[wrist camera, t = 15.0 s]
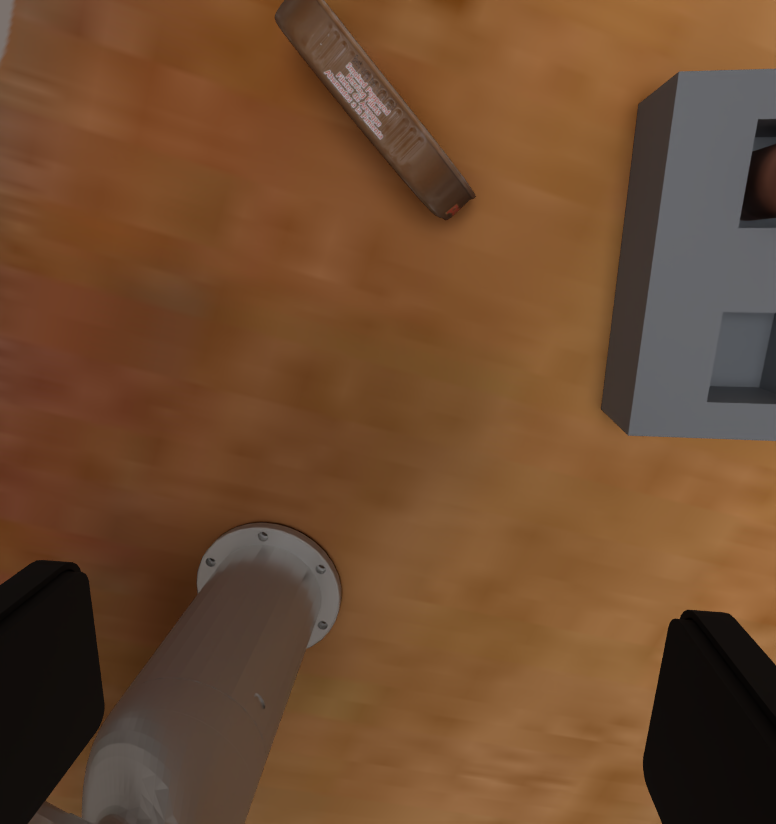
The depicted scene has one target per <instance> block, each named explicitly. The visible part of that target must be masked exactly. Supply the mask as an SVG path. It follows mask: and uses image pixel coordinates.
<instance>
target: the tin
mask: <svg viewBox="0 0 776 824" xmlns="http://www.w3.org/2000/svg"><path fill="white" fill-rule="evenodd" d="M275 20H276V23H277V24H278V26H279V28H280V29H281V30H282V32H283V33H284V35H285V36H286V37H287V38H288V40H289V41H290V42H291V44H292V45H293V46H294V47H295V49H296V50H297V51H298V52H299V54H300V55H301V56H302V58H303V59H304V60H305V61H306V63H307V64H308V65H309V66H310V68H311V69H312V70H313V71H314V73H315V74H316V75H317V76H318V78H319V79H320V80H321V81H322V83H323V84H324V85H325V86H326V87H327V89H328V90H329V91H330V93H331V94H332V95H333V96H334V97H335V99H336V100H337V101H338V102H339V104H340V105H341V106H342V107H343V109H344V110H345V111H346V112H347V114H348V115H349V116H350V117H351V119H352V120H353V121H354V122H355V123H356V125H357V126H358V127H359V128H360V129H361V131H362V132H363V133H364V134H365V135H366V137H367V138H368V139H369V140H370V141H371V143H372V144H373V145H374V146H375V147H376V149H377V150H378V151H379V152H380V153H381V154H382V156H383V157H384V158H385V159H386V160H387V162H388V163H389V164H390V165H391V166H392V168H393V169H394V170H395V171H396V172H397V174H398V175H399V176H400V177H401V178H402V180H403V181H404V182H405V183H406V184H407V185H408V186H409V188H410V189H411V190H412V191H413V192H414V193H415V195H416V196H417V197H418V198H419V199H420V200H421V201H422V202H423V204H424V205H425V206H426V207H427V208H428V209H429V210H430V211H431V212H432V213H433V214H435V215H436V216H438V217H441V218H443V219H445V220H448V219H449V218H451V217H452V216H453V215H454V214H455V213H456V212H457V211H458V210H459V209H461V208H462V207H463V206H464V205H465V204H466V203H467V202H468V201H469V200H471V199H474V198H475V197H476V196H475V194H474V192H473V191H472V189H471V187H470V186H469V184H468V183H467V182H466V180H465V178H464V177H463V176H462V175H461V173H460V172H459V171H458V169H457V168H456V167H455V166H454V164H453V163H452V162H451V160H450V159H449V158H448V156H447V155H446V154H445V152H444V151H443V150H442V149H441V147H440V146H439V144H438V143H437V142H436V141H435V139H434V138H433V137H432V136H431V134H430V133H429V132H428V131H427V129H426V128H425V127H424V125H423V124H422V123H421V122H420V121H419V119H418V118H417V117H416V115H415V114H414V113H413V112H412V110H411V109H410V108H409V107H408V106H407V104H406V103H405V102H404V100H403V99H402V98H401V96H400V95H399V94H398V93H397V91H396V90H395V89H394V88H393V87H392V85H391V84H390V83H389V82H388V80H387V79H386V78H385V77H384V75H383V74H382V73H381V71H380V70H379V69H378V68H377V66H376V65H375V64H374V63H373V61H372V60H371V59H370V58H369V56H368V55H367V54H366V53H365V51H364V50H363V49H362V47H361V46H360V45H359V44H358V43H357V41H356V40H355V39H354V38H353V36H352V35H351V34H350V32H349V31H348V30H347V29H346V27H345V26H344V25H343V24H342V22H341V21H340V20H339V18H338V17H337V16H336V15H335V13H334V12H333V11H332V10H331V8H330V7H329V6H328V5H327V3H326V2H325V1H324V0H284V2H283V3H282V4H281V6H280V7H279V9H278V10H277V12H276V14H275Z"/></svg>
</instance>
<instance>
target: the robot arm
mask: <svg viewBox="0 0 776 824" xmlns="http://www.w3.org/2000/svg"><path fill="white" fill-rule="evenodd" d="M197 591H198V594H197V596H196V597H195V599H194V600H193V601H192V603H191V604H190V605H189V607H188V608H187V609H186V611H185V612H184V613H183V615H182V616H181V617H180V619H179V620H178V622H177V623H176V624H175V626H174V627H173V628H172V630H171V631H170V632H169V634H168V635H167V636H166V638H165V639H164V640H163V642H162V643H161V645H160V646H159V647H158V649H157V650H156V651H155V653H154V654H153V655H152V657H151V658H150V659H149V661H148V662H147V663H146V665H145V666H144V668H143V669H142V670H141V672H140V673H139V674H138V676H137V677H136V678H135V680H134V681H133V682H132V684H131V685H130V686H129V688H128V689H127V691H126V692H125V693H124V695H123V696H122V697H121V699H120V700H119V701H118V703H117V704H116V706H115V707H114V708H113V710H112V711H111V712H110V714H109V715H108V717H107V718H106V720H105V721H104V723H103V724H102V726H101V728H100V730H99V732H98V734H97V736H96V739H95V741H94V743H93V746H92V749H91V752H90V755H89V758H88V762H87V766H86V772H85V778H84V785H83V797H82V818H80V817H78V816H76V815H74V814H72V813H70V814H68V813H67V812H65V811H63V810H61V809H59V808H57V807H56V806H54V805H52V804H50V803H48V802H46V801H45V800H46V799H47V797H48V796H49V795H50V793H51V792H52V791H53V789H54V788H55V787H56V785H57V784H58V783H59V781H60V780H61V779H62V777H63V776H64V775H65V773H66V772H67V771H68V769H69V768H70V766H71V765H72V764H73V762H74V761H75V760H76V758H77V757H78V756H79V754H80V753H81V752H82V750H83V749H84V748H85V746H86V745H87V744H88V742H89V741H90V740H91V738H92V737H93V735H94V734H95V733H96V731H97V730H98V728H99V726H100V724H101V721H102V718H103V715H104V697H103V689H102V681H101V673H100V665H99V657H98V650H97V642H96V634H95V626H94V618H93V610H92V602H91V595H90V587H89V580H88V577H87V575H86V574H85V573H83V572H81V570H80V568H79V567H78V565H77V564H75V563H73V562H61V561H48V560H38V561H35V562H33V563H31V564H29V565H28V566H27V567H25V568H24V569H22V570H21V571H20V572H18V573H17V574H15V575H14V576H13V577H11V578H10V579H8V580H7V581H6V582H4V583H3V584H1V585H0V824H245V821H246V818H247V815H248V812H249V809H250V806H251V803H252V800H253V797H254V794H255V791H256V789H257V786H258V783H259V780H260V777H261V774H262V772H263V769H264V765H265V763H266V760H267V757H268V754H269V751H270V749H271V746H272V743H273V740H274V737H275V735H276V732H277V729H278V726H279V723H280V721H281V718H282V715H283V712H284V709H285V707H286V704H287V701H288V698H289V695H290V693H291V690H292V687H293V684H294V681H295V679H296V676H297V673H298V670H299V667H300V665H301V662H302V659H303V656H304V653H305V651H306V649H307V648H309V647H312V646H313V645H315V644H316V643H317V642H319V641H320V640H322V639H323V638H324V636H325V635H326V634H327V633H328V632H329V631H330V629H331V628H332V626H333V624H334V623H335V621H336V618H337V615H338V612H339V608H340V603H341V584H340V580H339V576H338V573H337V571H336V569H335V567H334V564H333V562H332V561H331V560H330V558H329V557H328V555H327V554H326V553H325V551H324V550H323V549H322V548H321V547H320V546H319V545H317V544H316V543H315V542H314V541H313V540H311V539H310V538H308V537H307V536H305V535H304V534H302V533H300V532H298V531H296V530H294V529H292V528H289V527H285V526H282V525H278V524H271V523H251V524H246V525H242V526H239V527H236V528H234V529H232V530H230V531H228V532H226V533H224V534H223V535H222V536H220V537H219V538H218V539H217V540H216V541H215V542H214V543H213V544H212V545H211V546H210V548H209V549H208V550H207V552H206V553H205V555H204V556H203V558H202V560H201V563H200V566H199V569H198V573H197ZM643 771H644V777H645V782H646V785H647V788H648V791H649V793H650V795H651V798H652V800H653V803H654V805H655V807H656V810H657V812H658V815H659V817H660V819H661V822H662V824H776V665H775V664H774V663H773V662H772V660H771V659H770V658H769V657H768V656H767V655H766V654H765V652H764V651H763V650H762V649H761V648H760V647H759V646H758V645H757V643H756V642H755V641H754V640H753V639H752V638H751V637H750V635H749V634H748V633H747V632H746V631H745V630H744V629H743V627H742V626H741V625H740V624H739V623H738V622H737V621H736V619H735V618H734V617H732V616H731V615H730V614H728V613H723V612H710V611H697V610H686V611H684V612H683V614H682V615H681V617H680V619H673V620H672V621H671V622H670V624H669V627H668V632H667V637H666V642H665V648H664V653H663V658H662V663H661V668H660V674H659V679H658V684H657V689H656V694H655V700H654V705H653V710H652V715H651V720H650V725H649V731H648V736H647V741H646V746H645V751H644V757H643Z"/></svg>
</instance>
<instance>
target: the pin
mask: <svg viewBox="0 0 776 824" xmlns="http://www.w3.org/2000/svg"><path fill="white" fill-rule="evenodd" d="M770 218H776V144H774V145H771V146H768V147H764V148H761V149H758V150H755V151H752V155H751V161H750V166H749V172H748V177H747V183H746V188H745V194H744V199H743V205H742V210H741V216H740V220H743V221H752V220H761V219H770Z"/></svg>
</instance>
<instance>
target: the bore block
mask: <svg viewBox="0 0 776 824" xmlns="http://www.w3.org/2000/svg"><path fill="white" fill-rule="evenodd" d="M774 144H776V69H753V70H719V71H685V72H678V73H677V74H676V75H674V76H673V77H672V78H671V79H669V80H668V81H667V82H666V83H664V84H663V85H662V86H661V87H659V88H658V89H657V90H656V91H654V92H653V93H652V94H651V95H649V96H648V97H647V98H646V99H644V100H643V101H642V102H641V103H639V105H638V113H637V121H636V129H635V137H634V146H633V154H632V162H631V170H630V178H629V186H628V194H627V203H626V211H625V219H624V227H623V235H622V243H621V251H620V259H619V268H618V276H617V284H616V292H615V300H614V308H613V316H612V324H611V333H610V341H609V349H608V357H607V365H606V373H605V381H604V389H603V398H602V406H601V410H602V411H603V412H604V413H605V414H607V415H608V416H609V417H610V418H611V419H612V420H613V421H614V422H615V423H616V424H617V425H618V426H619V427H620V428H621V429H622V430H623V431H624V432H625V433H626V434H627V435H631V436H658V437H686V438H713V439H741V440H768V441H776V218H770V219H761V220H752V221H743V220H740V216H741V210H742V205H743V199H744V194H745V188H746V183H747V177H748V172H749V166H750V161H751V155H752V151H755V150H758V149H761V148H764V147H768V146H771V145H774Z"/></svg>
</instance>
